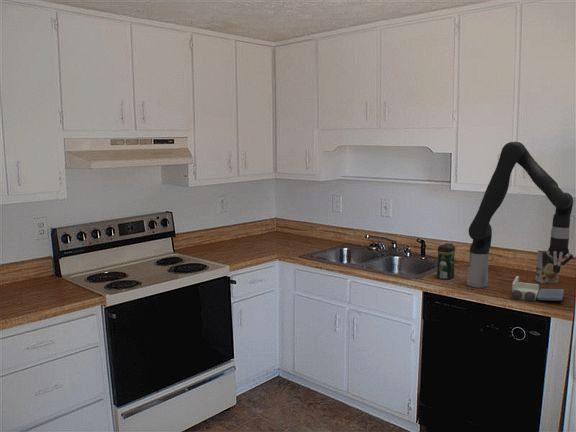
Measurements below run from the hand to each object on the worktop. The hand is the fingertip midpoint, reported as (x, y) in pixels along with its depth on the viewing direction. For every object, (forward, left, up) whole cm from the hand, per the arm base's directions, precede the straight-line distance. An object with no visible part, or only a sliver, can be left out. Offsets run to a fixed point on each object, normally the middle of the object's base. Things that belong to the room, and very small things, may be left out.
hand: (556, 272), depth 240 cm
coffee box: (-6, +31, -13) cm, 34 cm away
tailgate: (-7, 0, -11) cm, 13 cm away
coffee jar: (-54, +13, -13) cm, 57 cm away
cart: (-13, 0, -13) cm, 18 cm away
